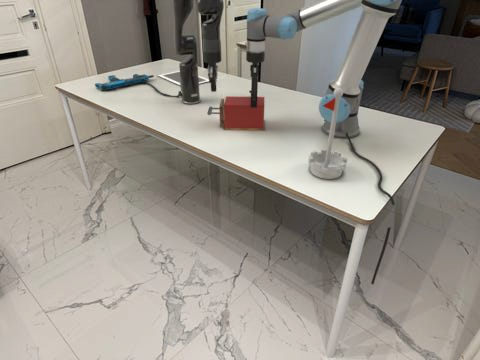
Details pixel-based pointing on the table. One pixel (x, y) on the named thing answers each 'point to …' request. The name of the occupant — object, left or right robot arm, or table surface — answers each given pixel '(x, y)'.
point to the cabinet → (243, 113)
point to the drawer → (221, 109)
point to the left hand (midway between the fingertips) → (213, 91)
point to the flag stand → (329, 148)
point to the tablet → (176, 78)
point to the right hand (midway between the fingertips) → (254, 101)
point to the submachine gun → (122, 81)
